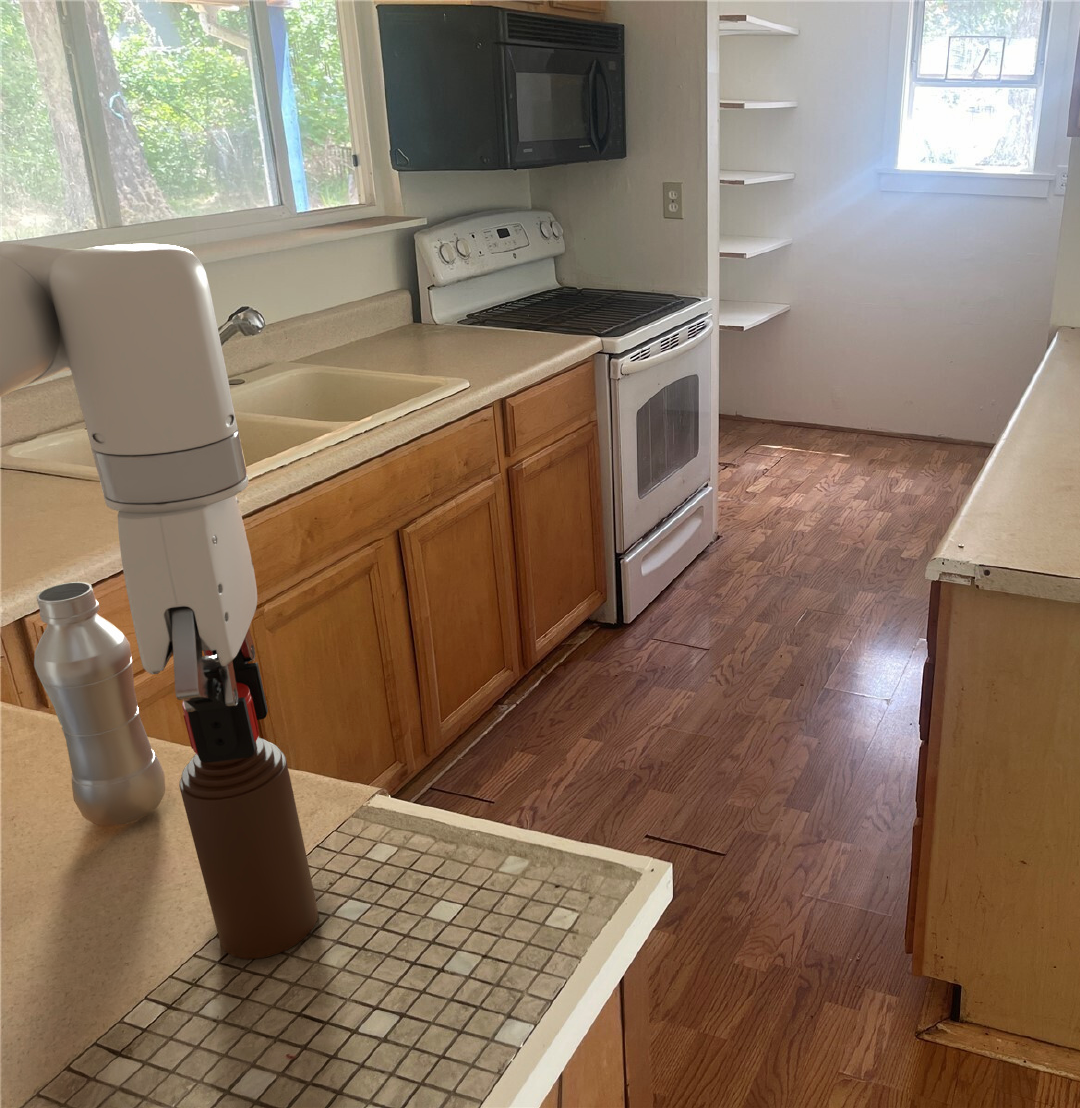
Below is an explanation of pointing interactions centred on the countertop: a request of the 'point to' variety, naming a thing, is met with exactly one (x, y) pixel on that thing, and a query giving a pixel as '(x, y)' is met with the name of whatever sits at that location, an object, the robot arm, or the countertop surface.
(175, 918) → the countertop surface
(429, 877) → the countertop surface
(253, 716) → the cap
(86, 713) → the silver water bottle
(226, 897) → the sauce bottle
